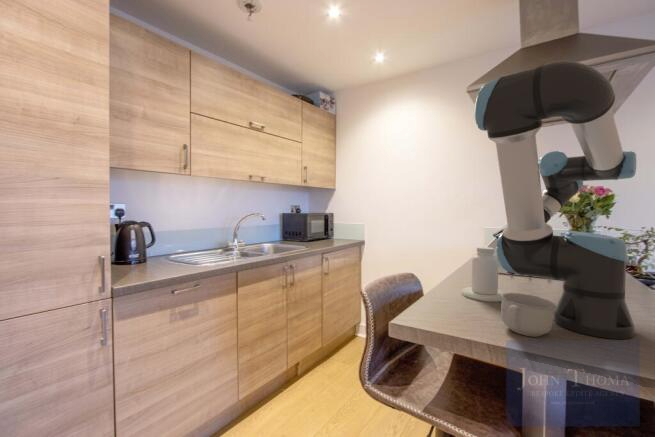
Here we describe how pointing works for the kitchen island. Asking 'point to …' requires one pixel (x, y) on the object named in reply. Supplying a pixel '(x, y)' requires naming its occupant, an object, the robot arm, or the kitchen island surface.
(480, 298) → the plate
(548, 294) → the kitchen island surface
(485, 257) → the pill bottle
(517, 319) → the teacup
